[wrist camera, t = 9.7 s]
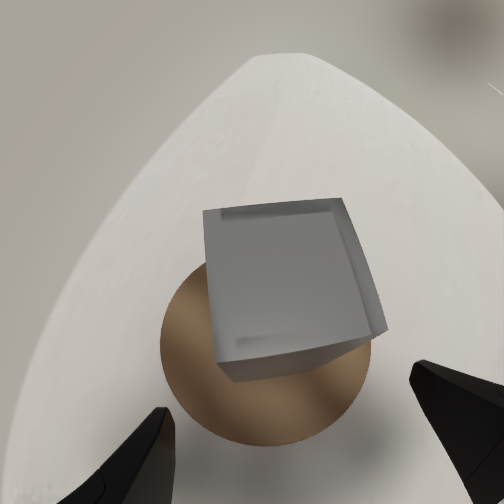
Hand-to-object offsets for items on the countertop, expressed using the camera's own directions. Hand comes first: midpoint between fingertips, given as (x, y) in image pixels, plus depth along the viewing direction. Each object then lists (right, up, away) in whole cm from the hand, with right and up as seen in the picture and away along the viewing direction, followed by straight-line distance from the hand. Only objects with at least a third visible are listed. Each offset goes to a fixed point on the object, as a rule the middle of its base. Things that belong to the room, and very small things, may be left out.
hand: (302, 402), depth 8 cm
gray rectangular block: (-1, 0, +9) cm, 9 cm away
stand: (-1, -1, +10) cm, 10 cm away
